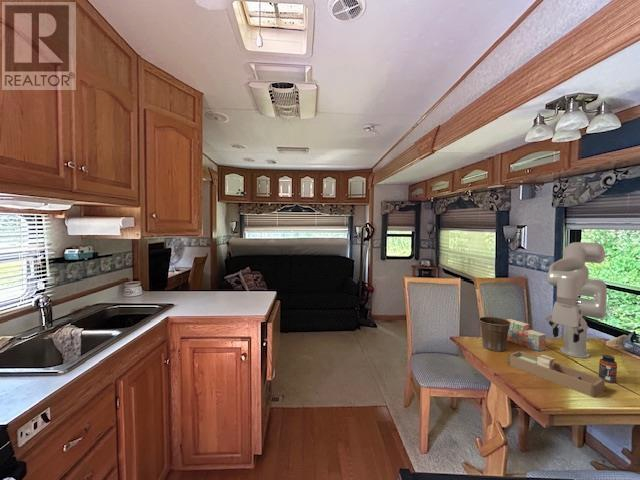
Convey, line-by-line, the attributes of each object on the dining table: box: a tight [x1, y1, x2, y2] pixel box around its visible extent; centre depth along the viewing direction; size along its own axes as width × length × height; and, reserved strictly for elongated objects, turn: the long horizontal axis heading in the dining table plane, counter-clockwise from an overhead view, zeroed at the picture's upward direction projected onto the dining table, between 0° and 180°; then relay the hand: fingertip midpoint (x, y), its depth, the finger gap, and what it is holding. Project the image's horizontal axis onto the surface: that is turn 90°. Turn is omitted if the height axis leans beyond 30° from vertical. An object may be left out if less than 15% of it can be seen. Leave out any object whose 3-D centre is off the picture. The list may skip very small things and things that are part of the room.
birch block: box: [537, 354, 555, 370], centre depth 145 cm, size 5×5×5 cm
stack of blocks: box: [506, 318, 546, 352], centre depth 181 cm, size 21×6×12 cm, turn 22°
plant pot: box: [478, 316, 511, 352], centre depth 176 cm, size 16×16×16 cm
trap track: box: [507, 350, 606, 398], centre depth 143 cm, size 11×34×5 cm, turn 31°
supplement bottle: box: [598, 354, 618, 384], centre depth 139 cm, size 6×6×11 cm
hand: (565, 338), depth 138 cm, fingers open, 6 cm apart
